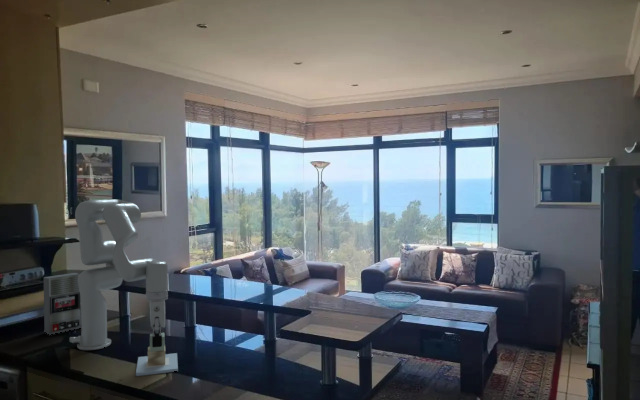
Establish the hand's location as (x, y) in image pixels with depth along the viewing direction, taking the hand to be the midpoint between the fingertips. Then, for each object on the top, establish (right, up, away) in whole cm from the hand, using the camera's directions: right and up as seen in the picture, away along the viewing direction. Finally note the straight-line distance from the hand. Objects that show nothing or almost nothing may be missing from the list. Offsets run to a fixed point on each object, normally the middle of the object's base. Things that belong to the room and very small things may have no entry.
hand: (157, 343), depth 174 cm
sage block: (0, -2, 0) cm, 2 cm away
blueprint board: (0, -8, 0) cm, 8 cm away
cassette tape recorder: (-56, -7, +40) cm, 69 cm away
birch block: (0, -7, 0) cm, 7 cm away
